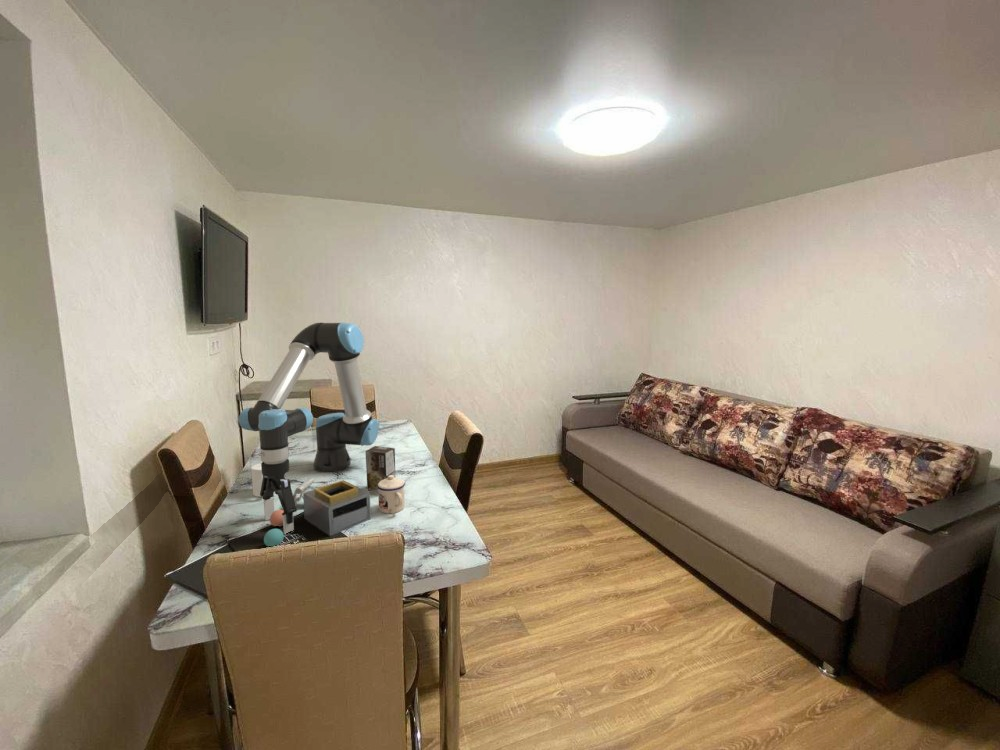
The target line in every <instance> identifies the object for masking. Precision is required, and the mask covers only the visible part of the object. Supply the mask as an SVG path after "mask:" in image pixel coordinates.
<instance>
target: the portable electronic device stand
mask: <svg viewBox="0 0 1000 750" xmlns="http://www.w3.org/2000/svg"><path fill="white" fill-rule="evenodd" d="M314 482H315V481H314V479H313V478H311V477H310V478H308V479H307V480H305V481H304V482H303V483H301V484H300V485H299V486H298V487H296V488H295V490H294V493H293V497H294V501H295V505H296V504H297V503H298V502H299V501H301V500H303V501H304V499H303V493H305V492H308V491H310V489H309V487H310V486H312V485H313V484H314ZM298 495H299V496H298Z"/></svg>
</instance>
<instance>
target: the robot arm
mask: <svg viewBox="0 0 1000 750" xmlns="http://www.w3.org/2000/svg"><path fill="white" fill-rule="evenodd" d="M364 340H365V339H364V335H363V332H362V331H361V329H360V327H359V326H357V325H356V324H355V323H349V322H315V323H312V324H310V325H308V326H306V327H305V328H304V329H302V330H301V331H300V332H299V333H297V334H296V335H295V337H294V338H293V339H292V340H291V342H290V344H289V345H288V350H289V351H288V352H287V354H286V356H285V357H284V358H283V360H282V362H281V363H280V365H279V366H278V367H277V370H276V372H274V374H273V376H272V377H271V378H270V381H269V382H268V384H267V385H266V387H265V389H264V390H263V392H262V393H261V395H260V396H259V398H258V400H257V402H256V403H255V405H254V406H253V407H246V408H244V409H243V410H241V412H240V414H239V416H238V424H239V425H240V427H241V428H242V429H243V430H247V431H252V432H259V433H258V434H259V447H260V448H259V449H260V452H259V453H258V454H259V457H260V463H261V468H262V474H263V480H262V486H261V491H260V495H261V496H263V497H262V500H263V511H264V521H270V516H271V515H272V513H273V512H275V501H274V497H275V495H277V497H278V499H279V503H280V505H281V508H282V510H283V511H284V512H283V513H282V515H283V525H282V526H283V527H282V528H283V534H284V535H287V534H286V533H288V532H290V531H293V530H294V531H295V525H294V524H295V523H294V513H296V512H297V511H298V510H297V505H296V504H295V501H294V497H293V495H294V493H293V490H292V486H291V485H292V484H291V479H290V478H287V479H286V477H285V475H286V474H287V473H288V472H290V460H289V456H290V454H289V453H290V450H289V437H291V436H293V435H296V434H298V433H302V432H304V431H305V430H307V429H309V428H310V427H311V426H312V425H313V423H314V417H313V413H312V412H311V410H309V409H308V408H305V407H300V408H295V409H282V407H283V406H284V404H285V402H286V400H287V399H288V397H289V395H290V393H291V392H292V390H293V388H294V386H295V385H296V383H297V381H298V380H299V378H300V377H301V376H302V375H301V374H302V373H303V372H304V369H305V368H306V366H307V364H308V363H309V361H312V360H313V359H314V358H315V357H316V355H317V354H319V353H324V354H325V353H327V355H328V360H329V361H331V362H332V363H333V364H334V367H335V368H334V369H335V372H336V375H337V381H338V385H339V390H340V395H341V399H342V403H343V408H344V409H343V410H344V412H332V413H327V414H324V415H321V416H319V417H316V420H315V432H316V433H315V434H316V435H315V436H316V447H317V448H316V450H317V451H316V454H315V457H314V459H313V469H314V470H315V471H317V472H321V473H322V472H323V473H330V472H337V471H341V470H345V469H346V468H349V467H350V466H351V464H352V462H351V457H350V455H349V452H348V450H347V445H353V446H361V447H363V446H371V445H373V444H374V443H375V442H376V440H377V439H378V435H379V430H380V422H379V420H378V419H377V418H373V415H372V412H371V411H370V410H368V409H367V404H366V399H365V394H364V390H363V389H364V388H363V384H362V379H361V374H360V368H359V363H358V358H359V357H360V356H361V352H362V351H363V349H364V343H365V341H364ZM264 491H265V492H264ZM274 491H275V494H273V493H274ZM294 531H293V532H294ZM288 534H289V533H288Z"/></svg>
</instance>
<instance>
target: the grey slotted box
mask: <svg viewBox="0 0 1000 750" xmlns="http://www.w3.org/2000/svg"><path fill="white" fill-rule="evenodd" d="M303 499H304V500H303ZM302 500H303V514H304V519H305V518H306V519H308V520H309V521H310V522H312V523H313V524H314V525H316V526H317V527H318V528H319V529H318V528H317V527H316V528H317V529H318V530H320V529H321V530H322V531H321V530H320V531H321V532H323V533H324V532H325V533H324V534H326V533H327V534H328V535H327V534H326V535H327V536H329V535H330V536H329V537H331V535H332V536H334V535H336V534H339V533H341V532H343V531H346V530H348V529H351V528H353V527H355V526H359V525H360V524H362V523H365V522H367V521H369V520H371V519H372V517H371V515H372V514H371V493H370V492H369V491H367V490H364V489H363V488H361V487H358V486H356V485H354V484H352V483H350V482H348V481H345V480H339V481H336V482H334V483H330V484H327V485H324V486H321V487H317V488H314V489H312V490H309V491H308V492H305V493H303V498H302ZM314 525H313V526H314Z"/></svg>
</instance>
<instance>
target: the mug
mask: <svg viewBox="0 0 1000 750" xmlns="http://www.w3.org/2000/svg"><path fill="white" fill-rule="evenodd" d="M261 463H262V462H260V463H257V464H254V465H252V466H251V468H250V469H251V484H252V495H253V496H254V497H262V498H263V496H261V495H260V491H261V486H262V480H263V474H262V468H261ZM264 492H265V491H264ZM273 494H274V495H276V494H275V491H274V493H273Z"/></svg>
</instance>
